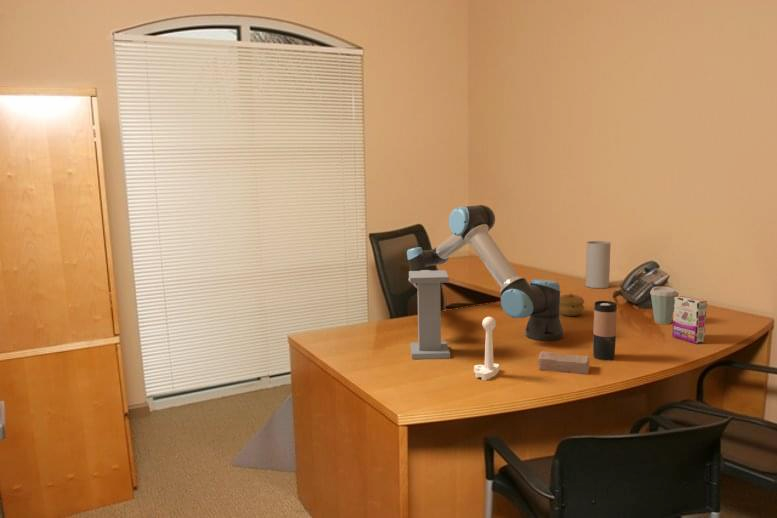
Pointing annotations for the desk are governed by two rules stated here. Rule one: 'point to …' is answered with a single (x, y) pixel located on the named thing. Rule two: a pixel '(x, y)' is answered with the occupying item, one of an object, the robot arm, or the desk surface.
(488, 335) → the joystick
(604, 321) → the travel mug
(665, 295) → the disposable coffee cup
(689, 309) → the candy bar box
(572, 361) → the brick
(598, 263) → the cylinder vase
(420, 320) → the stand
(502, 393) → the desk surface
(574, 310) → the brown round lump
